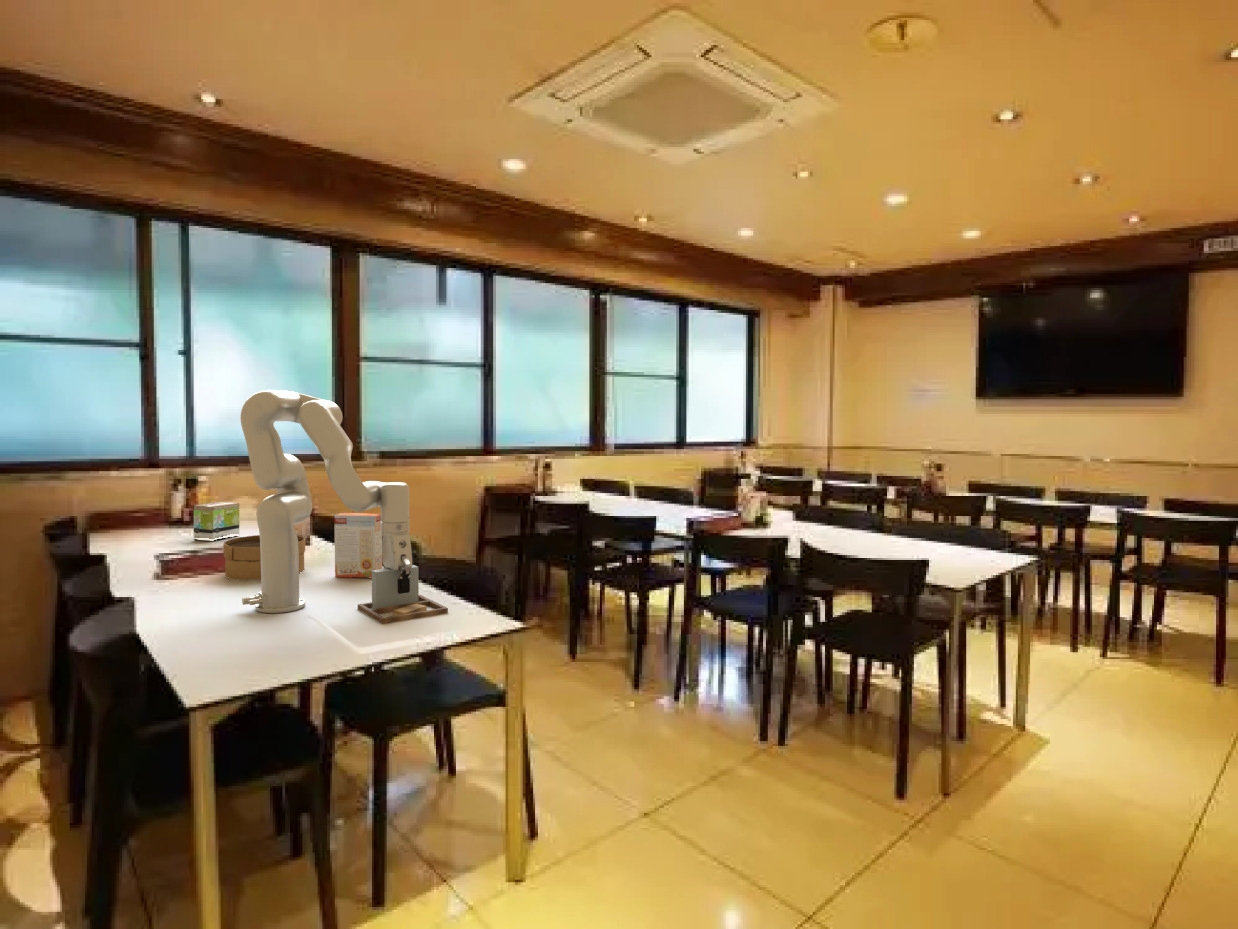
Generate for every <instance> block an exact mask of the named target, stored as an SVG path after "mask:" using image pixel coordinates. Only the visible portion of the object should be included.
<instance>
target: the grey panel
mask: <svg viewBox="0 0 1238 929" xmlns="http://www.w3.org/2000/svg"><path fill="white" fill-rule="evenodd" d="M410 571H411V573H410V592H408V593H402V594H399V593H398V582H397V579H399V577H398V574H397V571H394V570H392V569H389V568H387V569H383V568H382V569H379V570H372V578H371V602H372V608H371V609H377V608H383V607H389V606H396V605H402V604H408V603H415V602H420V601H419V595H420V592H419V588H420V587H419V586H420V585H419V583H420V582H419V566H417V565H415V564H412V568H411V569H410ZM402 572H403V571H401V574H402Z"/></svg>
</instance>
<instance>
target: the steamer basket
mask: <svg viewBox="0 0 1238 929" xmlns="http://www.w3.org/2000/svg"><path fill="white" fill-rule="evenodd" d="M297 538H298V551H299V573H300V572H302V571H303V570H304V571H305V552H306V538H305V536H301V535H298V534H297ZM223 557H224V559H225V570H224V574H225V575H224V576H225V577H226V578H228V577H229V578H228V579H231V578H232V580H237V579H238V580H240V581H261V552H260V534H258V535H248V536H241V537H240V536H238V537H234V538H231V539H228V540H226V541H224V542H223ZM304 571H303V572H304ZM303 572H302V573H303ZM300 574H301V573H300Z"/></svg>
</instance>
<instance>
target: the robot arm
mask: <svg viewBox="0 0 1238 929" xmlns="http://www.w3.org/2000/svg"><path fill="white" fill-rule="evenodd" d="M275 422H291V423H295V424H299V425H300V426H301V427H302V430H304V432H305V433H306V435H307V436H308V438H309V439H310V441H311V443H312V444H313V445H314V447H315V448H316V450H317V451H318V453H319V455H320V456H321V457H322V459H323V461H324V467H325V471H326V475H327V479H328V480H329V483H330V485H331V486H332V489H333V490H334V492H335V493H336V494H337V496H338V498H339V499H340V500H341V502H342V503H343V505H345V507H347V508H348V509H349V510H351V511H353V512H355V513H362V512H365V511H368V510H371V509H372V510H373V509H375V508H379V507H380V514H381V534H382V569H387V568H389V569H392V570H394V571H397V574H398V577H399V579H397V582H398V593H399V594H402V593H408V592H410V573H411V571H410V569H411V568H412V565H413V554H412V544H411V543H412V542H411V536H410V532H411V525H410V522H411V521H410V487H409V484H407V483H406V482H403V481H402V482H401V481H400V482H398V481H392V482H389V481H388V482H383V481H377V480H367V481H362V480H361V478H360V477H359V475H358V473H357V472H356V471H355V468H354V466H353V464H352V458H351V457H352V453H353V452H352V451H353V448H354V445H353V442H352V440H351V439H350V438H349V436H348V435H347V433H346V432H345V430H344V429H343V427H342V426H341V424H342V422H343V412H342V410H341V408H340V406H339V405H338V404H336V403H335V402H333V401H331V400H327V399H322V398H319V397H314V396H311V395H307V394H303V393H300V392H295V391H291V390H289V391H288V390H280V389H279V390H277V389H267V390H261V391H258V392H255V393H254V394H252V395H250V396H249V398H247V400H246V401H245V402H244V404H243V405H242V408H241V411H240V426H241V429H242V432H243V436H244V439H245V444H246V448H247V453H248V459H249V462H250V463H249V464H250V467H251V471H252V476H253V480H254V482H255V485H256V486H258V488H260V489H262V490H266V491H273V490H275V491H276V492H275V494H271V495H269V496H267V497H265V498H264V499H263V500H261V501H260V503H259V504H258V506H257V508H256V515H255V517H256V523H257V528H258V532H259V533H258V535H260V552H261V580H260V586H261V587H260V588H261V589H260V591H258V592H257V594H254V596H247V597H242V599H241V602H242V605H243V606H245V605H250V606H254V605H255V607H254V608H255V609H254V610H255V611H256V612H258V613H263V614H278V613H287V612H294V611H297V610H301V609H302V608H304V607H306V600H305V599H303V598H300V574H299V551H298V538H297V535H298V534H297V532H296V527H295V525H298V524H301V523H303V522H305V521H307V519H309V518H310V516H311V514H312V512H313V511H312V510H313V501H312V496H311V492H310V486H309V482H308V477H307V473H306V468H305V467H304V464H303V463H302V462H301V460H300V459H299V458H298V457H297V456H294V455H293V454H290V453H284V449H283V447H282V446H283V445H282V441H281V438H280V435H279V433H278V431H277V430H276V428H275V425H274V424H275ZM401 571H403V572H402V574H401Z"/></svg>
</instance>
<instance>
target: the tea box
mask: <svg viewBox="0 0 1238 929" xmlns="http://www.w3.org/2000/svg"><path fill="white" fill-rule="evenodd" d="M230 534H239V535H240V503H239V502H229V501H218V502H211V503H203V504H195V505H193V539H194V538H209V539H215V538H219V537H223V536H227V535H230Z"/></svg>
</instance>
